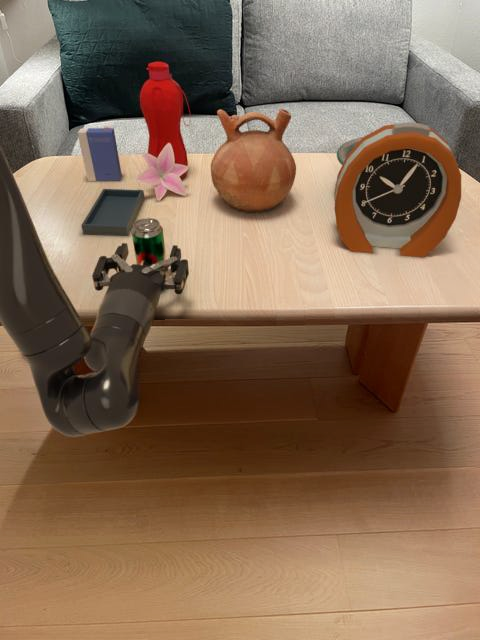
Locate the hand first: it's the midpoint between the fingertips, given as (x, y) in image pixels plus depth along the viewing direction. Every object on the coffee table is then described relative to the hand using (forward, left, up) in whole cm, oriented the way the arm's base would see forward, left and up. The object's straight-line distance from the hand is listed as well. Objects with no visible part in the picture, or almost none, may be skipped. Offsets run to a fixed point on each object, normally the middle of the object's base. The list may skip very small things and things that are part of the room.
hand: (150, 248), depth 79 cm
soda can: (-1, 0, -7) cm, 7 cm away
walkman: (+28, +36, -7) cm, 46 cm away
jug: (+35, -1, -7) cm, 36 cm away
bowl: (+52, -27, -7) cm, 59 cm away
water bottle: (+38, +23, -7) cm, 45 cm away
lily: (+29, +19, -7) cm, 36 cm away
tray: (+15, +22, -7) cm, 27 cm away
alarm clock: (+33, -32, -7) cm, 47 cm away
